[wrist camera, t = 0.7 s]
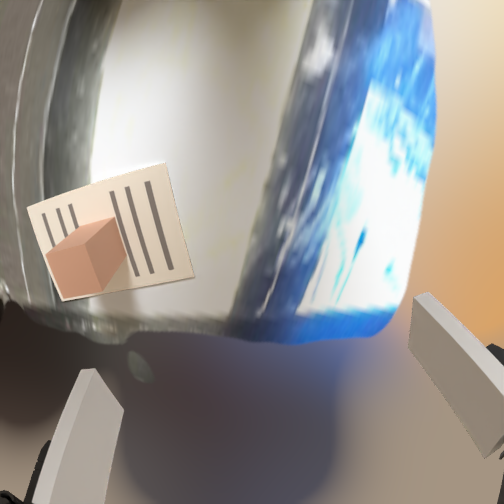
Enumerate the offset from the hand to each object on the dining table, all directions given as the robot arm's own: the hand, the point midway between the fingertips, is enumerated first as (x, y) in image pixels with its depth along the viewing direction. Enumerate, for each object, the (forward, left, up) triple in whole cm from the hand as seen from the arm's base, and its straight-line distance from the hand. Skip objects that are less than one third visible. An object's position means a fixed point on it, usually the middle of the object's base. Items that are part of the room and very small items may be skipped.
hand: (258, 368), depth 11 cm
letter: (0, -16, -25) cm, 30 cm away
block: (0, -16, -25) cm, 30 cm away
